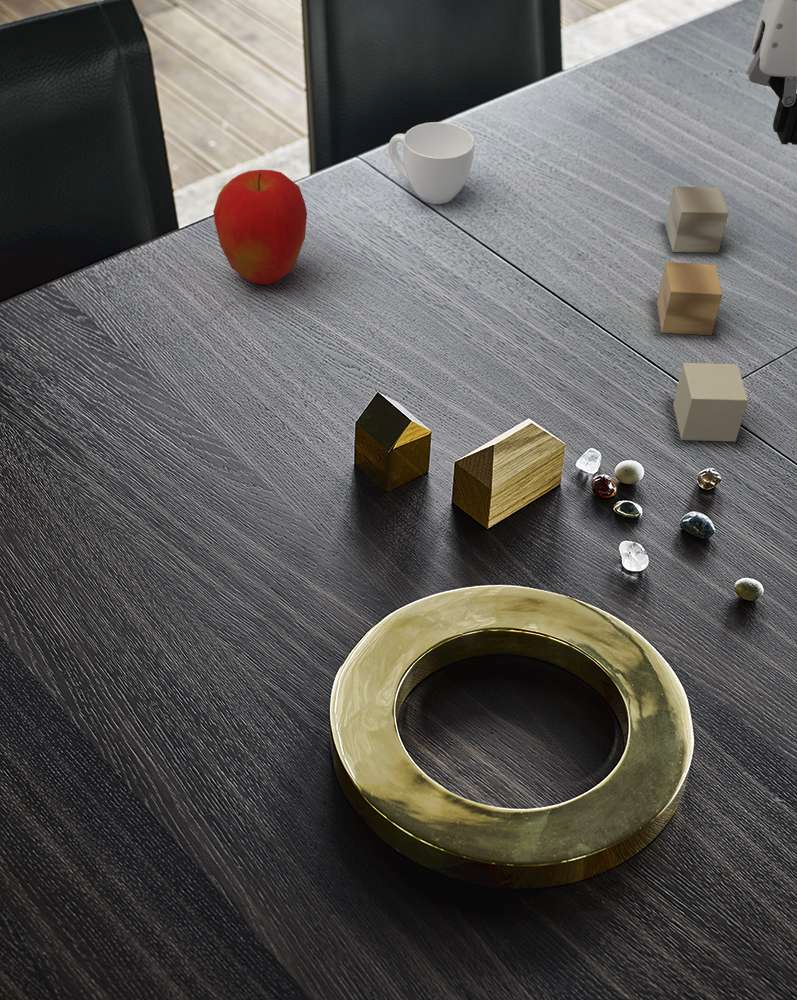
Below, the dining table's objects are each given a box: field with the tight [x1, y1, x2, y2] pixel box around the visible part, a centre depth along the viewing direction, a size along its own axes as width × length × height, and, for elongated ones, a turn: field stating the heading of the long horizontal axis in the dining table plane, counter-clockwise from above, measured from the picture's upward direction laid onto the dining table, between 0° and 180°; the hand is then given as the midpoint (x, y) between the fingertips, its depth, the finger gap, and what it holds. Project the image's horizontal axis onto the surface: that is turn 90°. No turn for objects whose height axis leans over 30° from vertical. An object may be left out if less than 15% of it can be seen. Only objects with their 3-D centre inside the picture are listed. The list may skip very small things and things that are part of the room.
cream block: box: [672, 362, 749, 443], centre depth 113 cm, size 5×5×5 cm
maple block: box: [656, 261, 724, 336], centre depth 124 cm, size 5×5×5 cm
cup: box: [387, 121, 476, 205], centre depth 139 cm, size 8×10×7 cm
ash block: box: [664, 186, 730, 254], centre depth 134 cm, size 5×5×5 cm
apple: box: [213, 169, 308, 286], centre depth 125 cm, size 9×9×12 cm
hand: (786, 137), depth 126 cm, fingers closed
